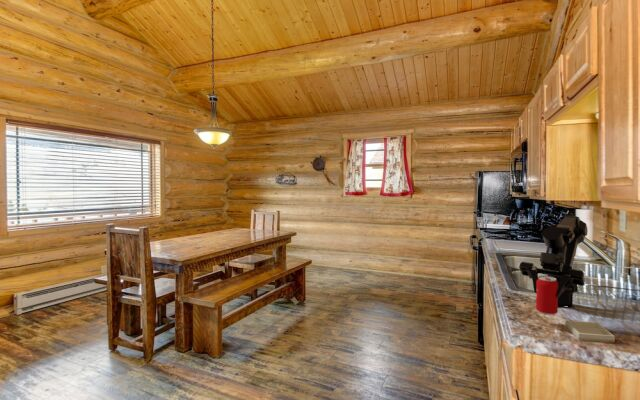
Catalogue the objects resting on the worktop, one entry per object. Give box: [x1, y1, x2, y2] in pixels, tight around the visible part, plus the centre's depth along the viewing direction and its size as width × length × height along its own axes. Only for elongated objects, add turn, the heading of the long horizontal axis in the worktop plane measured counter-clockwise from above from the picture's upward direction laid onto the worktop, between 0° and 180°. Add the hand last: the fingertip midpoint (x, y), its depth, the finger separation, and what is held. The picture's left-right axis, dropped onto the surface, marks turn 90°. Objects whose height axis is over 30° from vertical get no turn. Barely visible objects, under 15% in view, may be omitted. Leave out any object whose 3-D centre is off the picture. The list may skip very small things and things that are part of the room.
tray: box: [564, 320, 616, 344], centre depth 111 cm, size 10×10×2 cm
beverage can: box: [535, 275, 559, 316], centre depth 118 cm, size 6×6×12 cm
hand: (545, 294), depth 117 cm, fingers closed on beverage can, 6 cm apart
